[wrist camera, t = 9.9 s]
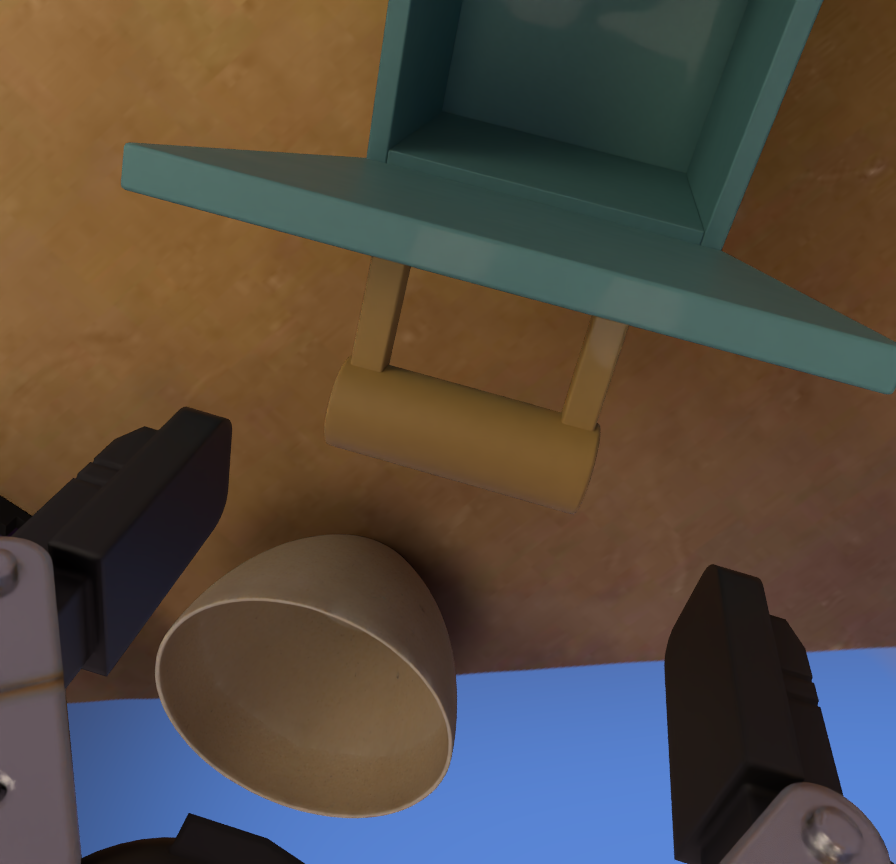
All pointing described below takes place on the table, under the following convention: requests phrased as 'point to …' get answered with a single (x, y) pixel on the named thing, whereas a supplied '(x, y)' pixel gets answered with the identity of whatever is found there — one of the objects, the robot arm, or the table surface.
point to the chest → (591, 101)
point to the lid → (513, 271)
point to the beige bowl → (316, 678)
